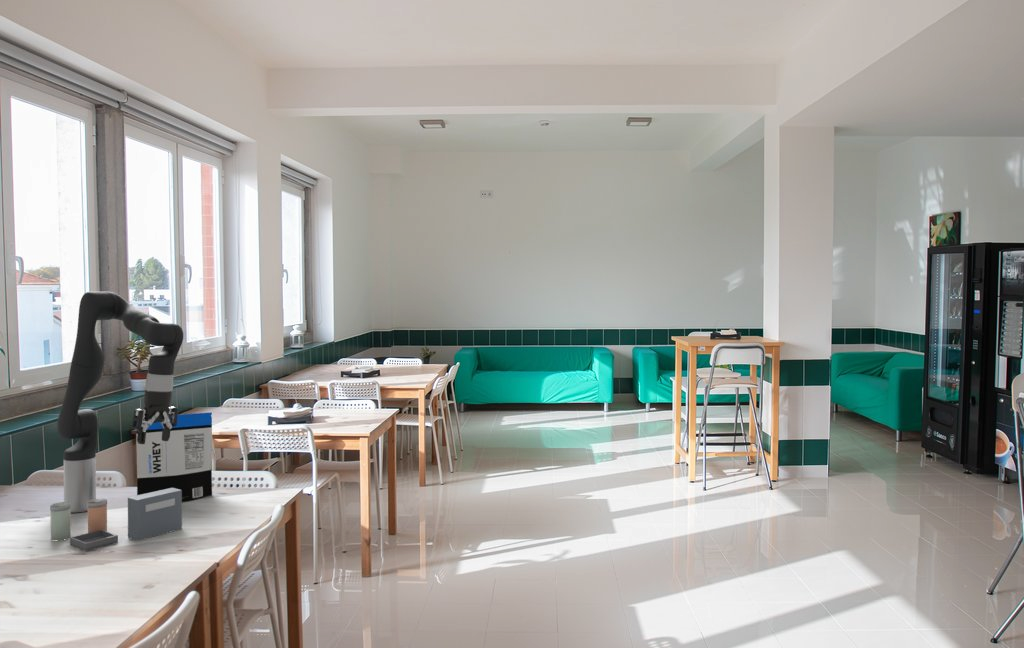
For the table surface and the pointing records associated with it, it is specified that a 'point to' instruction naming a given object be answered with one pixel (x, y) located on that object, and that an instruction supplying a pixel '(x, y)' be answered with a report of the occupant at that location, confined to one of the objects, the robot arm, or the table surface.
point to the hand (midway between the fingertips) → (153, 442)
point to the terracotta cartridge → (97, 515)
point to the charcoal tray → (93, 540)
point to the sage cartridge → (60, 521)
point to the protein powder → (177, 458)
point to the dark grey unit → (154, 513)
